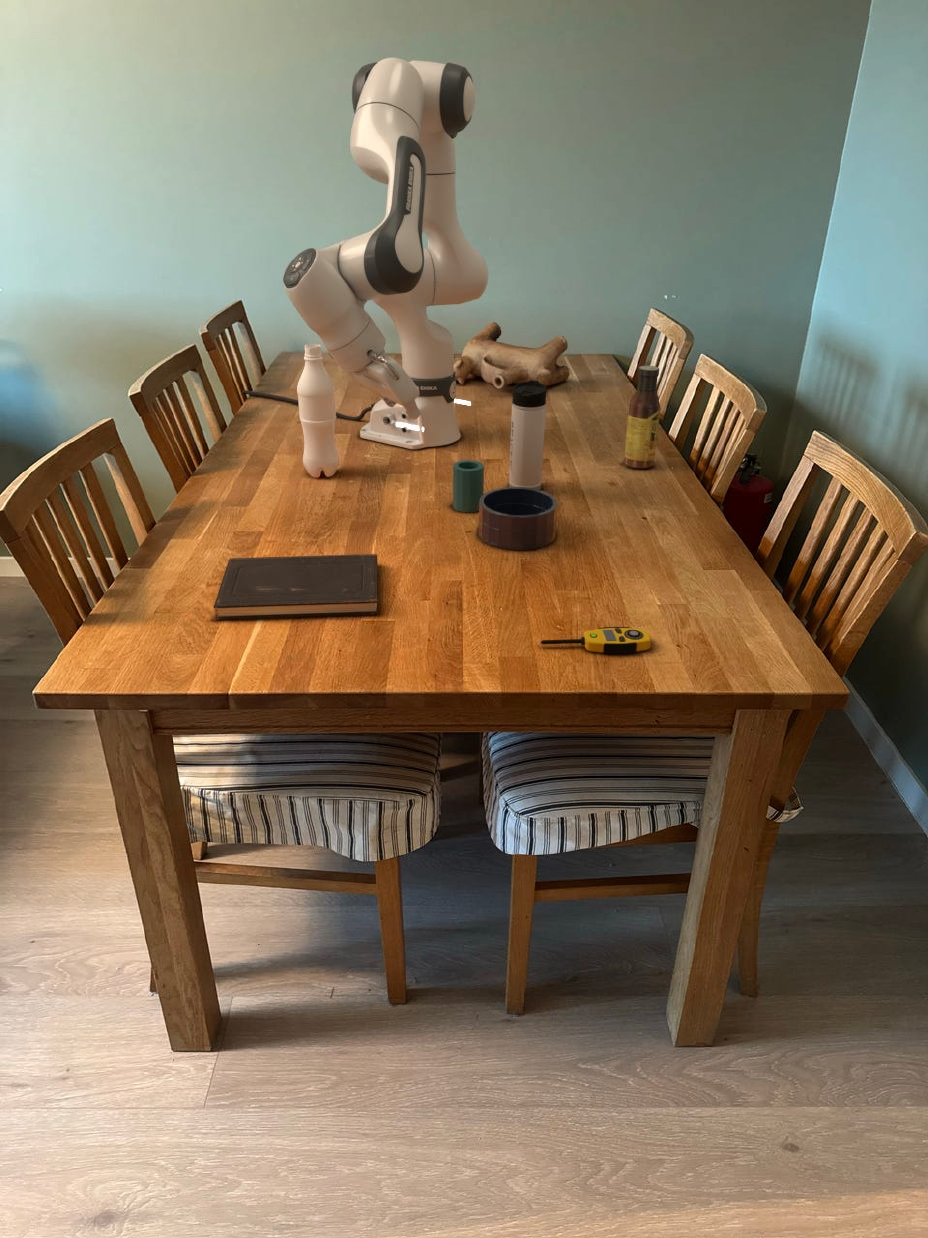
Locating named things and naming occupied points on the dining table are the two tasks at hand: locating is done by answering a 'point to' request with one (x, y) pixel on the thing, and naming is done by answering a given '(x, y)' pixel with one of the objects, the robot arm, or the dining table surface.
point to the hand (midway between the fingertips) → (404, 410)
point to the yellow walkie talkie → (611, 640)
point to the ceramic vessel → (510, 360)
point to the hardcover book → (298, 587)
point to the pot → (517, 518)
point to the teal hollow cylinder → (467, 485)
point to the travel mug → (527, 434)
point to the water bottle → (317, 415)
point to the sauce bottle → (643, 420)
